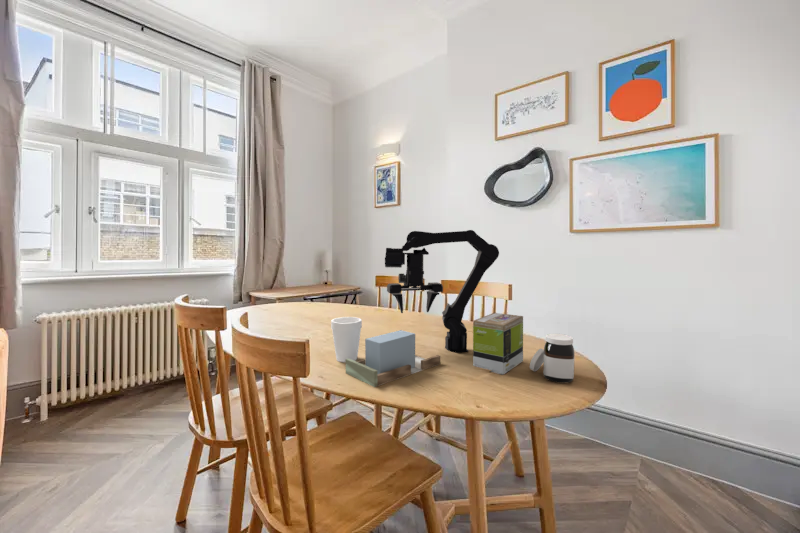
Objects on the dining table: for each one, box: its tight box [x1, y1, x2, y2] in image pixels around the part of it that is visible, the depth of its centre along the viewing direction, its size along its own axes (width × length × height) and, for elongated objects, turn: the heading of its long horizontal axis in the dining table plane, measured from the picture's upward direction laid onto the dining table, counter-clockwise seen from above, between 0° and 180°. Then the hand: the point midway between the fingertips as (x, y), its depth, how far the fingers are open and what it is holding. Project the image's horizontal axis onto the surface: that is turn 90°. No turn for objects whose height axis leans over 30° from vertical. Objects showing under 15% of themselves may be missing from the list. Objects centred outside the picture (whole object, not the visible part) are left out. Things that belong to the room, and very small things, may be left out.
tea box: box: [472, 312, 524, 375], centre depth 108 cm, size 15×10×15 cm, turn 140°
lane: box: [345, 354, 442, 388], centre depth 104 cm, size 26×25×5 cm
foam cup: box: [330, 316, 363, 363], centre depth 112 cm, size 10×9×13 cm
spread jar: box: [529, 333, 575, 384], centre depth 99 cm, size 12×11×12 cm
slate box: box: [364, 329, 416, 374], centre depth 102 cm, size 14×6×10 cm, turn 135°
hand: (414, 312), depth 123 cm, fingers open, 9 cm apart
